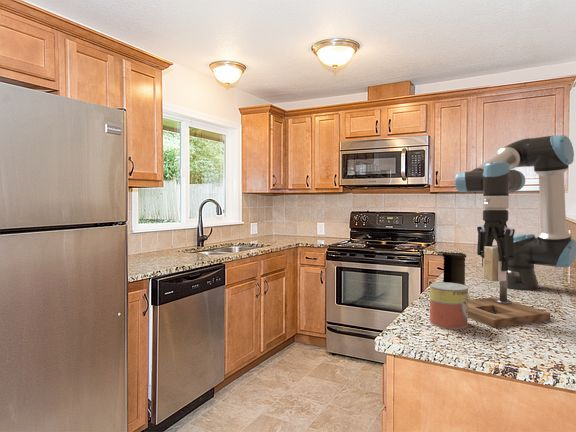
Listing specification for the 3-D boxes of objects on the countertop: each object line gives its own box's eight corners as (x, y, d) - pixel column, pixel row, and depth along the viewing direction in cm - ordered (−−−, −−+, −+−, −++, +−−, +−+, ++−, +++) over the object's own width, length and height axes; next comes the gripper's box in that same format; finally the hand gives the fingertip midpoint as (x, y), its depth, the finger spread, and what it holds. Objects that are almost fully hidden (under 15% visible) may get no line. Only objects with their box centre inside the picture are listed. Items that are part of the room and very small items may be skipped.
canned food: (464, 331, 121) (465, 291, 121) (425, 325, 127) (426, 287, 127) (470, 321, 131) (470, 284, 130) (433, 316, 137) (434, 280, 136)
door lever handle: (503, 300, 147) (503, 267, 147) (523, 306, 139) (523, 271, 139) (492, 301, 146) (492, 268, 145) (511, 307, 138) (512, 272, 137)
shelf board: (496, 303, 152) (496, 297, 152) (550, 320, 131) (550, 312, 131) (445, 308, 145) (445, 302, 145) (493, 327, 124) (493, 319, 124)
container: (465, 297, 161) (465, 252, 160) (467, 303, 153) (468, 255, 152) (441, 296, 164) (441, 251, 163) (441, 301, 156) (442, 254, 155)
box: (483, 278, 137) (483, 246, 137) (495, 278, 138) (495, 245, 137) (492, 281, 132) (492, 247, 132) (505, 281, 132) (505, 247, 132)
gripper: (465, 208, 142) (464, 274, 143) (509, 210, 124) (508, 285, 125) (483, 208, 144) (482, 273, 145) (528, 209, 126) (527, 283, 127)
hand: (494, 278), depth 135 cm, fingers closed on box, 6 cm apart
